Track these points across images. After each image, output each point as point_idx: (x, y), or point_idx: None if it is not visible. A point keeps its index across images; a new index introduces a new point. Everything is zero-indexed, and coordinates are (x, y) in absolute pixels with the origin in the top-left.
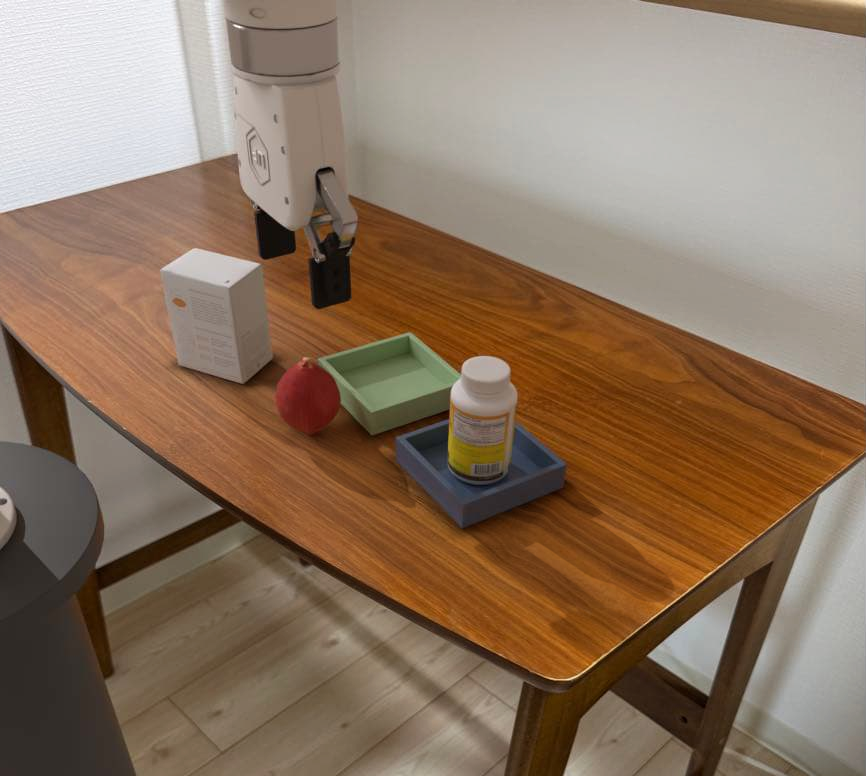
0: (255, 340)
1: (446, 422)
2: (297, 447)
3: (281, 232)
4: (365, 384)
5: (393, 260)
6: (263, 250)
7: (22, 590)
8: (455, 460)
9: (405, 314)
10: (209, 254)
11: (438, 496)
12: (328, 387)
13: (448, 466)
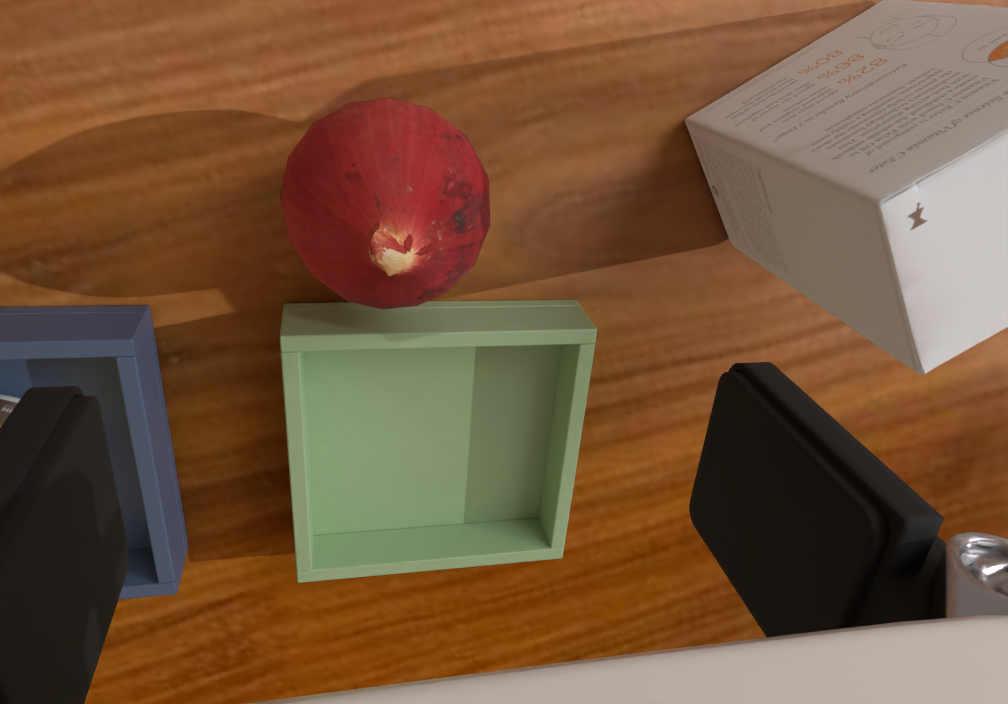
0: (755, 216)
1: (145, 474)
2: (333, 105)
3: (760, 541)
4: (479, 385)
5: None
6: (748, 394)
7: None
8: None
9: (684, 567)
10: None
11: None
12: (319, 269)
13: (6, 398)
